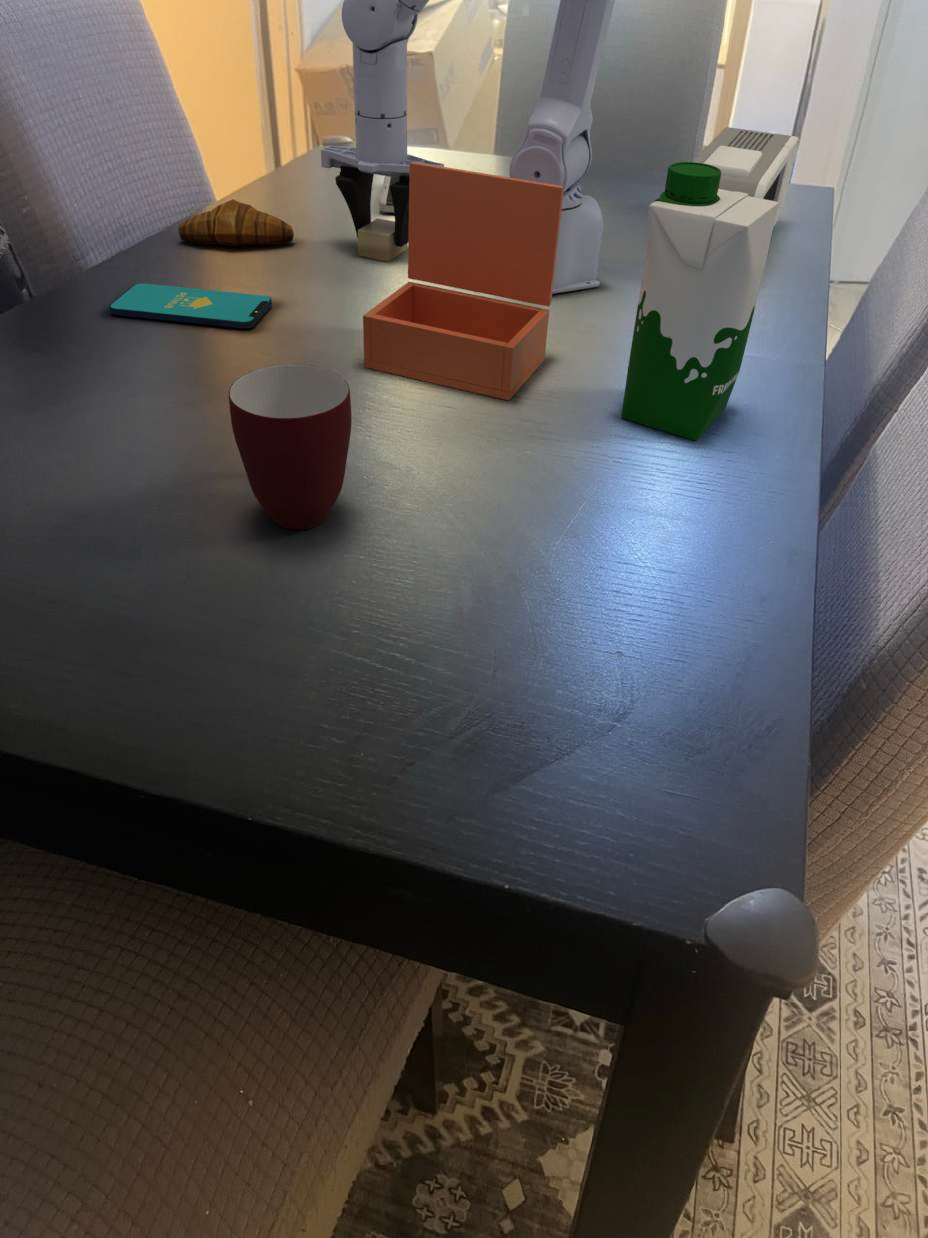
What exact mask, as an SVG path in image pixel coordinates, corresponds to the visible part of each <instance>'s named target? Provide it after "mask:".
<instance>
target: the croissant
mask: <svg viewBox="0 0 928 1238" xmlns="http://www.w3.org/2000/svg"><path fill="white" fill-rule="evenodd" d="M177 232H178V235H179V239H180V240H181V241H185V242H189V243H193V244H204V245H221V246H228V247H243V246H258V245H259V246H267V245H268V246H269V245H281V244H286V243H290V242H292V241H293V240H294V235H295V233H294V229H293V226H291V225H290V224H289V223H287V222H285V221H284V220H282V219H281V218H278V217H276V216H274V215H272V214H269V213H267V212H264V211H260V210H257V208H255V207H254V206H252V205H250V204H248V203H243V202H240V201H238V200H235V199H230V200H227V201H226V202H223V203H220V204H219V205H217V206H215V207H214V208H212V209H211V210H209V211H205V212H201V213H199V214H196V215H194V216H192V217H189V218H188V219H186V220H184V221H183V222H182V223H180V224H179V225H178V230H177Z"/></svg>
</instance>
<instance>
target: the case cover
mask: <svg viewBox="0 0 928 1238" xmlns="http://www.w3.org/2000/svg"><path fill="white" fill-rule="evenodd" d="M563 192H564V186H559V185H553V184H547V183H540V182H534V181H528V180H522V179H516V178H510V176H509V177H508V176H503V175H496V174H491V173H486V172H485V173H484V172H479V171H478V172H477V171H473V170H472V171H471V170H466V169H465V170H464V169H459V168H454V167H448V166H447V167H446V166H444V167H442V166H435V165H429V164H423V163H417V162H411V163H410V178H409V238H408V243H407V279H409V280H414V281H415V280H416V281H420V282H423V283H430V284H435V285H439V286H444V287H449V288H455V289H460V290H464V291H468V292H474V293H478V294H479V293H480V294H484V295H489V296H493V297H498V298H499V297H500V298H504V299H509V300H515V301H520V302H525V303H530V304H533V305H538V306H545V307H550V306H551V305H552V301H553V300H552V299H553V294H552V291H553V282H554V273H555V264H556V255H557V246H558V237H559V228H560V219H561V210H562V201H563Z"/></svg>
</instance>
